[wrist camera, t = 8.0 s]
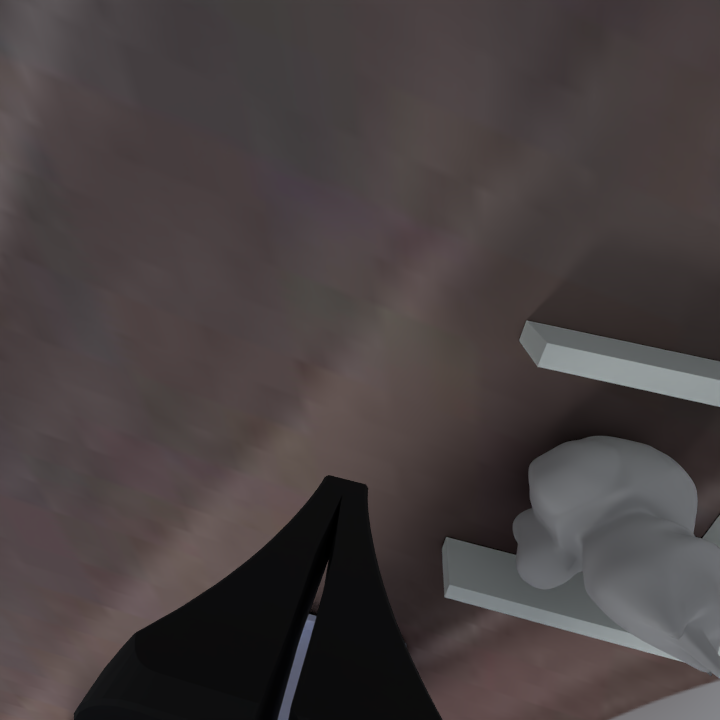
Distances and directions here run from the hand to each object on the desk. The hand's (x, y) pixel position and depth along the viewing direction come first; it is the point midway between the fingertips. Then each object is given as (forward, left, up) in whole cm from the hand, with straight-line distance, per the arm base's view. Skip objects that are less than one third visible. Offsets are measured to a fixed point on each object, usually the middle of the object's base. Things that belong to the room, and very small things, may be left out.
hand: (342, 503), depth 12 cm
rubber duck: (0, -9, -5) cm, 10 cm away
